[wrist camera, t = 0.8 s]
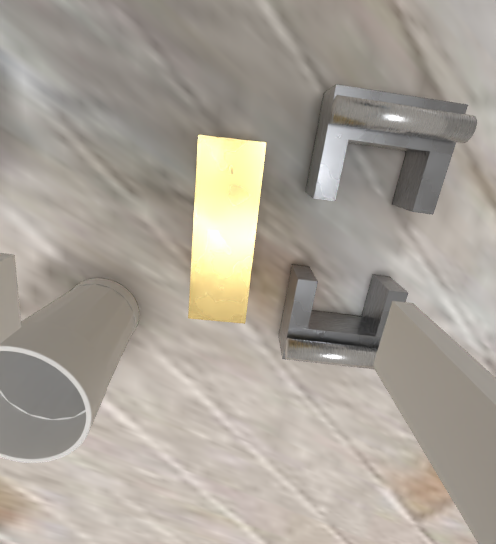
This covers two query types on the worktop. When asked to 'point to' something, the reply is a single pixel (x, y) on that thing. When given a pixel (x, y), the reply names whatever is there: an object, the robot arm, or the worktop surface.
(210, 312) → the gold rectangular block
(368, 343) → the chain end
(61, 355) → the cup
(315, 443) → the worktop surface
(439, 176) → the bracket
